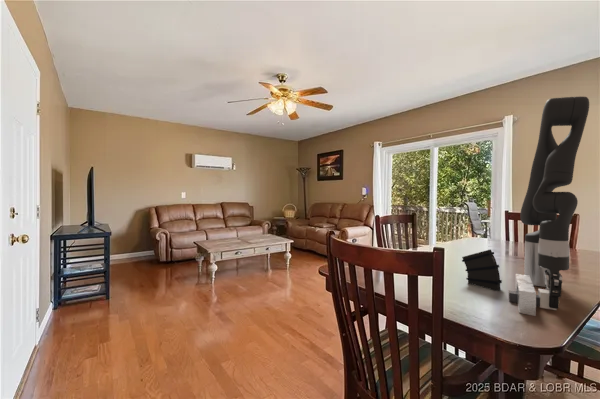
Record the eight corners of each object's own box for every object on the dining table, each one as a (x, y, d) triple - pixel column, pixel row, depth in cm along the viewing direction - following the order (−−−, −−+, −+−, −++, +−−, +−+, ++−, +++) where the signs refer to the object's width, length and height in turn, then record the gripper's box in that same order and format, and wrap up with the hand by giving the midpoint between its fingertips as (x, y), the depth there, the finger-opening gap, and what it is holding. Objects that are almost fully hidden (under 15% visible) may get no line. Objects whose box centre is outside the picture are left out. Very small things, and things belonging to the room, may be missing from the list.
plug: (509, 302, 95) (509, 287, 95) (508, 298, 98) (508, 284, 98) (559, 310, 88) (560, 295, 88) (556, 306, 91) (557, 291, 91)
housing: (518, 312, 86) (519, 290, 86) (515, 292, 104) (515, 273, 104) (535, 316, 84) (536, 293, 84) (529, 294, 102) (529, 275, 102)
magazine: (506, 289, 103) (487, 250, 108) (472, 294, 113) (456, 258, 118) (511, 287, 105) (492, 248, 110) (476, 292, 115) (461, 257, 120)
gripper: (535, 248, 98) (534, 296, 98) (540, 255, 86) (540, 310, 87) (564, 250, 93) (563, 300, 94) (574, 259, 82) (573, 316, 82)
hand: (552, 305), depth 90 cm, fingers closed on plug, 4 cm apart
